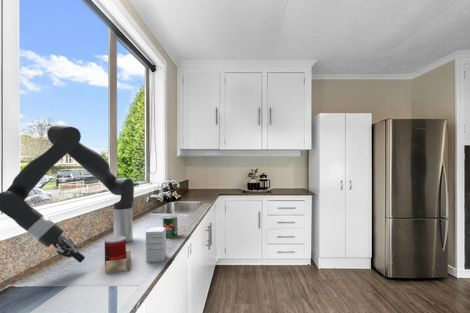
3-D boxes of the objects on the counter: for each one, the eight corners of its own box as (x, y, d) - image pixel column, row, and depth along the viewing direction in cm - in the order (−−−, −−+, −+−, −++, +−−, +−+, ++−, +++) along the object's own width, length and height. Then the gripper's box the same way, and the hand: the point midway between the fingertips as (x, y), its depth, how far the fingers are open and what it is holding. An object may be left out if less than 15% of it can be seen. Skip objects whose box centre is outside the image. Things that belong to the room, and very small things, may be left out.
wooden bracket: (105, 273, 104) (105, 262, 104) (109, 261, 116) (109, 252, 116) (130, 269, 107) (129, 259, 107) (130, 258, 119) (130, 249, 119)
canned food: (130, 263, 114) (129, 236, 114) (117, 270, 107) (116, 242, 107) (114, 261, 116) (113, 235, 116) (100, 269, 109) (100, 240, 109)
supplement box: (149, 256, 122) (149, 227, 122) (166, 255, 123) (166, 226, 123) (145, 262, 115) (145, 231, 115) (163, 261, 116) (163, 231, 116)
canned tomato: (163, 239, 149) (162, 218, 149) (163, 235, 156) (162, 215, 156) (178, 237, 151) (177, 217, 151) (177, 234, 158) (177, 214, 158)
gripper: (49, 227, 98) (87, 257, 102) (58, 220, 110) (92, 247, 114) (31, 244, 96) (71, 274, 100) (42, 235, 108) (78, 262, 112)
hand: (82, 259), depth 107 cm, fingers closed
